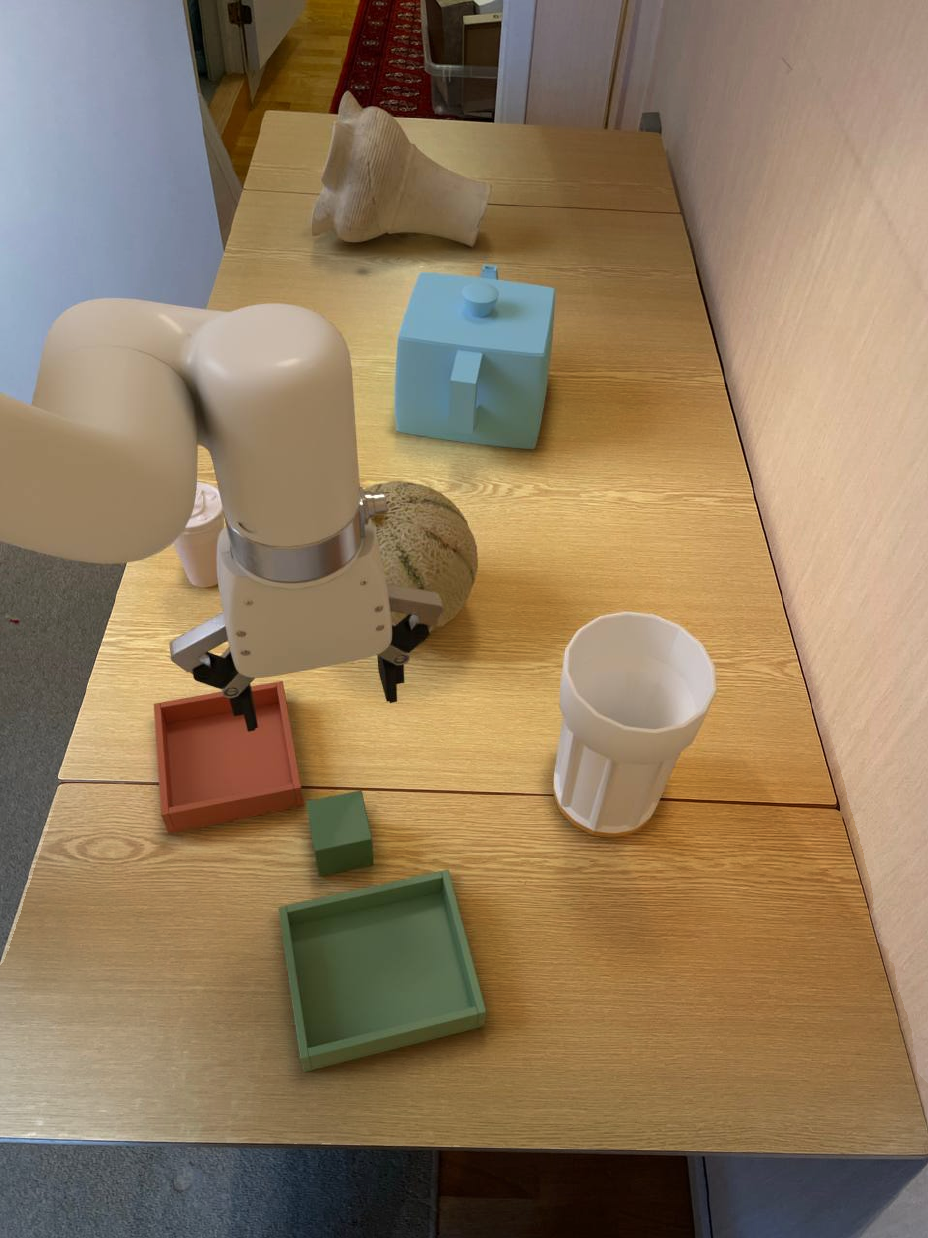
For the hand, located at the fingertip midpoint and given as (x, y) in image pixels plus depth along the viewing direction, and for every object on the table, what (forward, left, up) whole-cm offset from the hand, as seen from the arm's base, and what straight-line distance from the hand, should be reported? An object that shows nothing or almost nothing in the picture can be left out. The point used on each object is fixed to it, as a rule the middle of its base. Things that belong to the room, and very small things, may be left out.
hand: (320, 700), depth 68 cm
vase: (+26, +91, -18) cm, 96 cm away
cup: (+23, -2, -18) cm, 29 cm away
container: (+26, +53, -18) cm, 62 cm away
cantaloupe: (+10, +22, -18) cm, 30 cm away
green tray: (+1, -13, -18) cm, 22 cm away
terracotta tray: (-8, +8, -18) cm, 21 cm away
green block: (0, -2, -18) cm, 18 cm away
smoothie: (-8, +31, -18) cm, 37 cm away
